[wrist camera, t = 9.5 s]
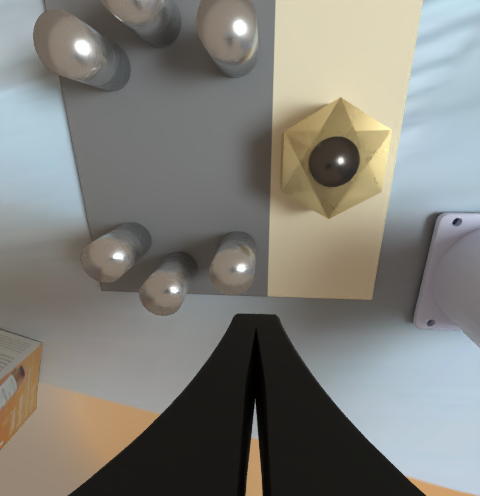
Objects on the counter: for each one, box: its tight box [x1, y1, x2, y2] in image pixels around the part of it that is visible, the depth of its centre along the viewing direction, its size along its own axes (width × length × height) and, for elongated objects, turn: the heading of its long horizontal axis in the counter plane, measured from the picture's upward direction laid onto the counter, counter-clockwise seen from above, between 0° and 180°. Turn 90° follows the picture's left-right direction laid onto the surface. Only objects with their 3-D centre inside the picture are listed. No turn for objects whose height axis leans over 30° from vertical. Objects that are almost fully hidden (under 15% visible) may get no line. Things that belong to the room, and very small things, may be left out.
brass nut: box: [280, 97, 392, 219], centre depth 15 cm, size 5×6×3 cm
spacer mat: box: [44, 0, 423, 300], centre depth 17 cm, size 19×18×1 cm
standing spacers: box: [33, 0, 259, 316], centre depth 15 cm, size 9×16×4 cm, turn 1°
